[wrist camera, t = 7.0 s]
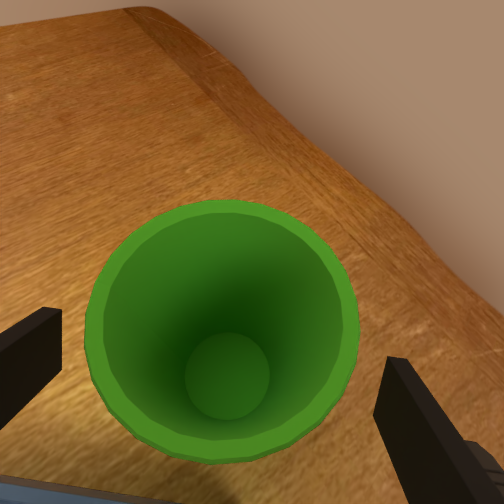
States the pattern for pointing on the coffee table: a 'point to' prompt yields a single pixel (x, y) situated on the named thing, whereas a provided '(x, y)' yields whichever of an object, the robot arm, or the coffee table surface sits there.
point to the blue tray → (61, 494)
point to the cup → (222, 331)
